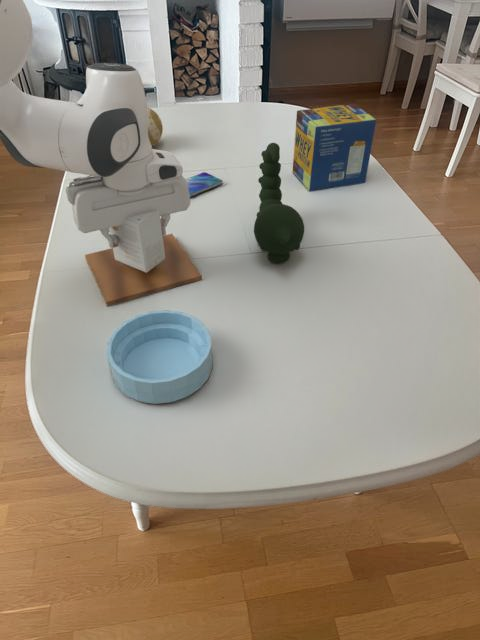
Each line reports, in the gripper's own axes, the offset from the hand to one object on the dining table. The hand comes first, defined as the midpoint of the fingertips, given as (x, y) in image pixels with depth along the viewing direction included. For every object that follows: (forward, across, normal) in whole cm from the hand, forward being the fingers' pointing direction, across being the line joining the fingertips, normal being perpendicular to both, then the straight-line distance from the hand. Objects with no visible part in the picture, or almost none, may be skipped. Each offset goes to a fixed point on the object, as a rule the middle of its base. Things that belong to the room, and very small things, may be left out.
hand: (137, 240), depth 95 cm
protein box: (+7, +53, +17) cm, 56 cm away
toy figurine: (+7, +27, -3) cm, 28 cm away
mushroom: (+7, +16, +55) cm, 58 cm away
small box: (+5, 0, 0) cm, 5 cm away
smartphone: (+6, +20, +26) cm, 34 cm away
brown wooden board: (+7, 0, 0) cm, 7 cm away
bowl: (+7, -5, -26) cm, 27 cm away
